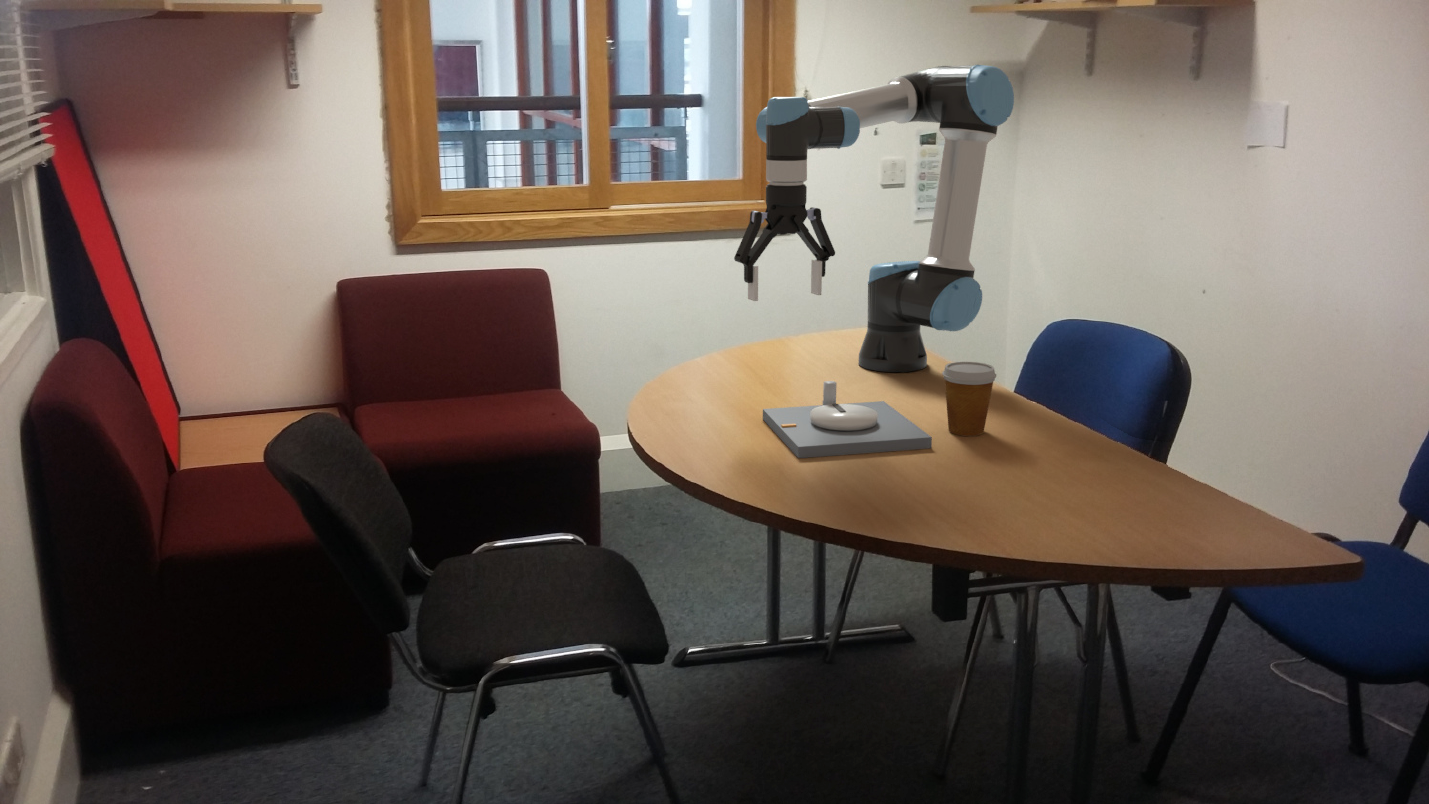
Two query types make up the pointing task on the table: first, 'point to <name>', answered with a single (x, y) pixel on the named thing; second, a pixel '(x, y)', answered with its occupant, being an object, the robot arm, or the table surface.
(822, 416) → the dial
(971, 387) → the disposable coffee cup
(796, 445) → the panel
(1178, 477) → the table surface
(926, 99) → the robot arm
